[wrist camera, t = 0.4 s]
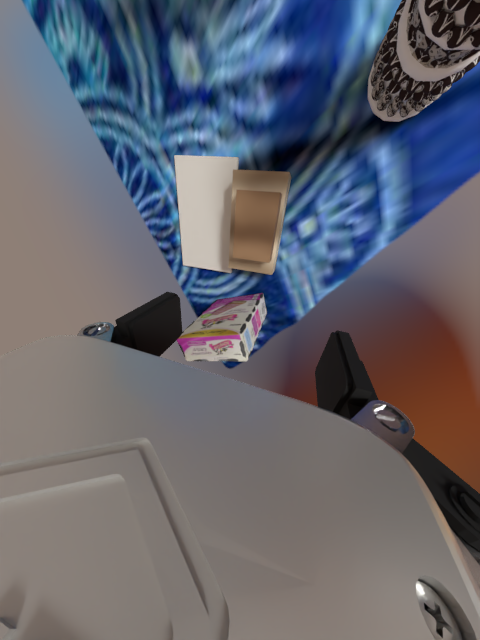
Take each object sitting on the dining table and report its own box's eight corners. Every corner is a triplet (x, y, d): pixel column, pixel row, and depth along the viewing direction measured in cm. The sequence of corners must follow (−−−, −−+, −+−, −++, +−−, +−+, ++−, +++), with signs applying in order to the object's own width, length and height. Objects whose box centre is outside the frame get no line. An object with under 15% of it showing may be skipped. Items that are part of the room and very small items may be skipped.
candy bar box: (263, 290, 38) (240, 333, 24) (267, 312, 40) (249, 363, 26) (215, 298, 42) (173, 338, 28) (222, 317, 44) (185, 363, 30)
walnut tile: (241, 191, 27) (236, 189, 25) (282, 194, 26) (280, 192, 24) (237, 254, 32) (232, 257, 30) (271, 259, 30) (269, 262, 28)
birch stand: (240, 174, 29) (232, 169, 26) (291, 177, 28) (289, 172, 24) (235, 262, 37) (228, 267, 33) (274, 269, 35) (271, 274, 32)
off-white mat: (176, 156, 31) (174, 155, 30) (238, 158, 28) (237, 157, 28) (184, 264, 40) (183, 265, 40) (232, 272, 38) (231, 273, 37)
